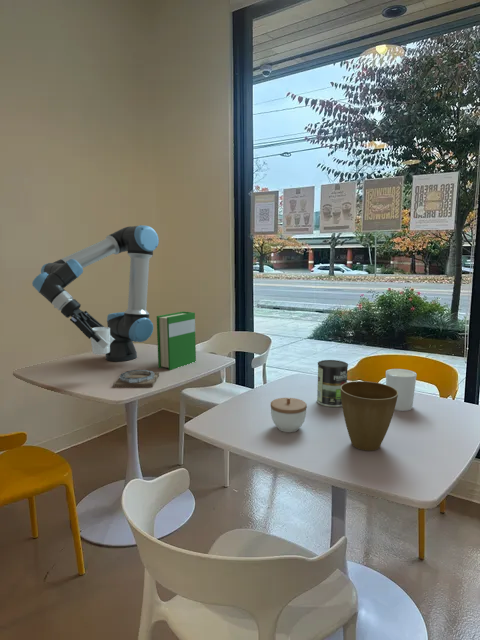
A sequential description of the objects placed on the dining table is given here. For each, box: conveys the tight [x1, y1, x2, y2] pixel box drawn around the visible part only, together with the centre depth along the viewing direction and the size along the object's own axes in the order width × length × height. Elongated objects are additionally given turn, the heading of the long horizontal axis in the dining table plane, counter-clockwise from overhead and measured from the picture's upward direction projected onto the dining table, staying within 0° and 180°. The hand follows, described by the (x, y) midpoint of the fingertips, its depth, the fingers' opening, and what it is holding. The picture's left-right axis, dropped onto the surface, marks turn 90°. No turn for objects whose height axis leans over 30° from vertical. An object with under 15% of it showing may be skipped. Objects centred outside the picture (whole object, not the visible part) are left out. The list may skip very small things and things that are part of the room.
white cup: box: [90, 326, 110, 355], centre depth 175 cm, size 8×8×10 cm
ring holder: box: [113, 369, 160, 388], centre depth 176 cm, size 15×15×3 cm
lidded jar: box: [270, 397, 308, 433], centre depth 129 cm, size 11×11×9 cm
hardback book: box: [156, 311, 197, 371], centre depth 200 cm, size 18×7×24 cm, turn 145°
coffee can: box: [316, 359, 349, 408], centre depth 150 cm, size 10×10×14 cm
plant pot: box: [340, 380, 398, 452], centre depth 117 cm, size 15×15×16 cm
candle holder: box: [385, 368, 418, 412], centre depth 146 cm, size 10×10×12 cm
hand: (109, 343), depth 175 cm, fingers closed on white cup, 8 cm apart
